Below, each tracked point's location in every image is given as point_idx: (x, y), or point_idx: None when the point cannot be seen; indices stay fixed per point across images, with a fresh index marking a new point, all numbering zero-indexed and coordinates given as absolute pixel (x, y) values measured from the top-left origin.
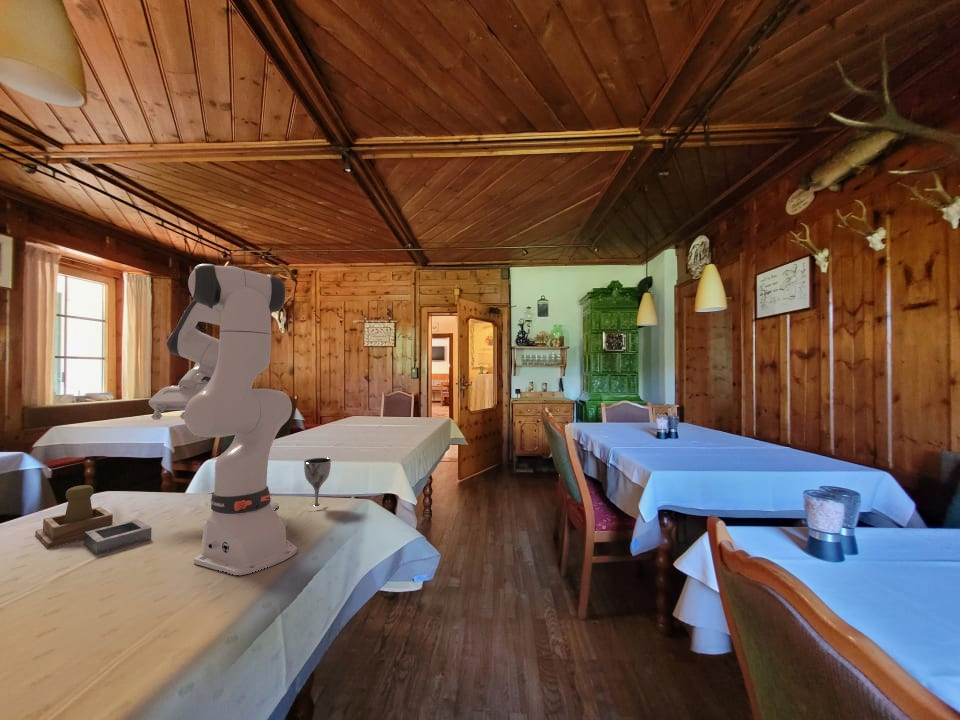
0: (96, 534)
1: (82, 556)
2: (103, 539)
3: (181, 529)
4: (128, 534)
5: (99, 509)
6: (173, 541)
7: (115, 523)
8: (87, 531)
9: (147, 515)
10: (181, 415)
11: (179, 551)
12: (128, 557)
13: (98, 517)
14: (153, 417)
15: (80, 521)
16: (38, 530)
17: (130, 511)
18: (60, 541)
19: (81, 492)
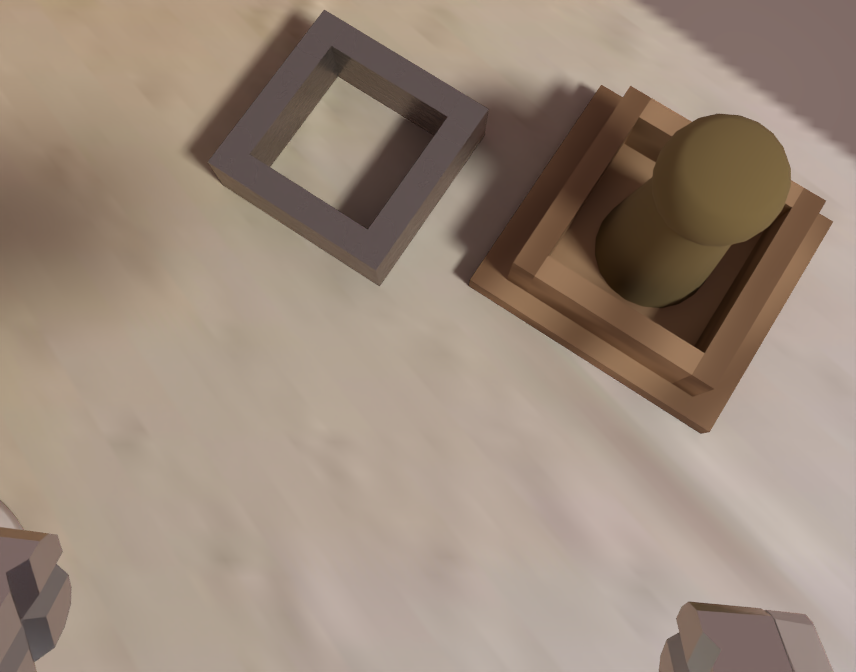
0: (403, 82)
1: (377, 32)
2: (320, 34)
3: (162, 301)
4: (260, 93)
5: (671, 342)
6: (104, 167)
7: (520, 310)
8: (480, 114)
9: (504, 500)
10: (4, 534)
11: (11, 75)
12: (183, 25)
13: (551, 221)
14: (742, 609)
15: (588, 167)
16: (815, 219)
17: (666, 568)
18: (580, 116)
19: (673, 138)
